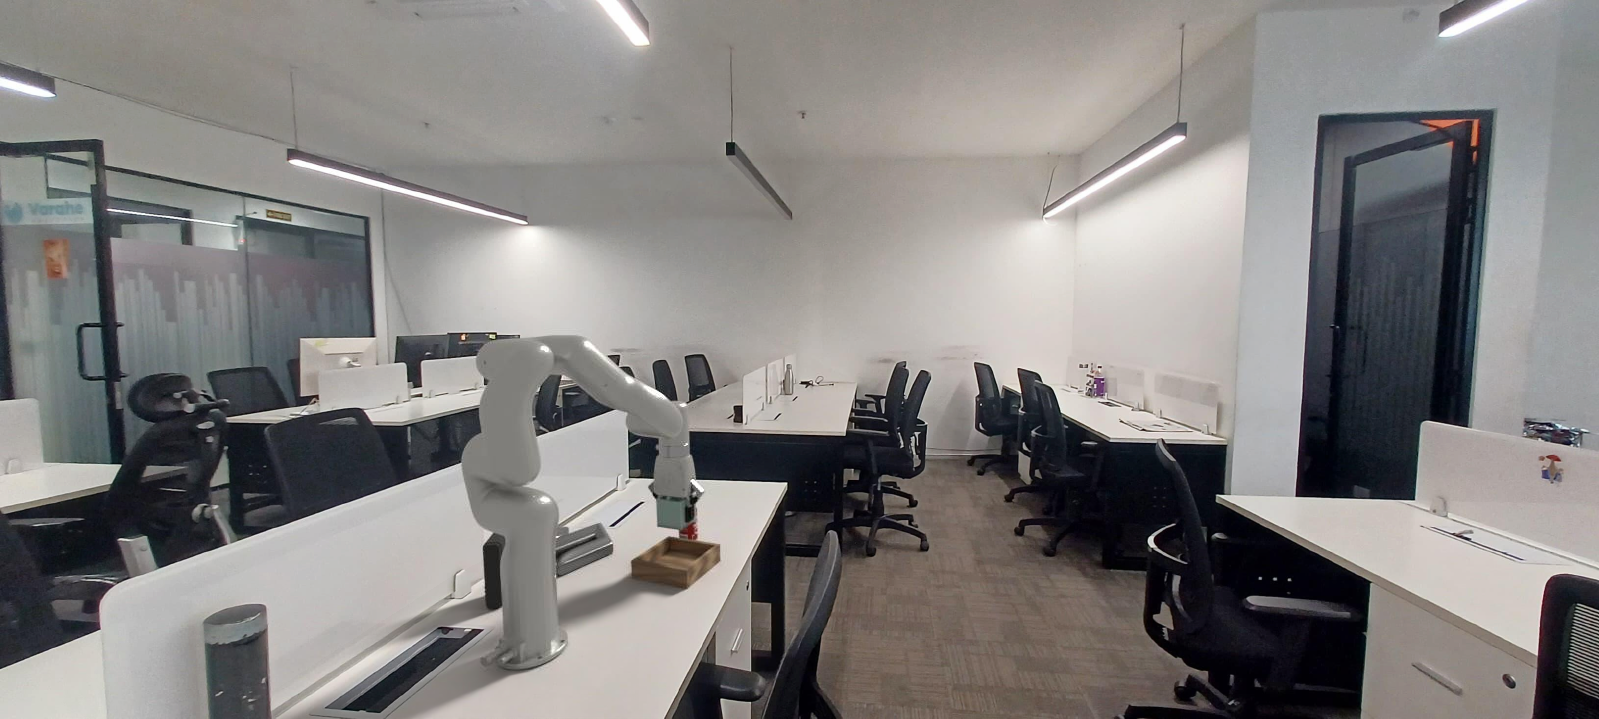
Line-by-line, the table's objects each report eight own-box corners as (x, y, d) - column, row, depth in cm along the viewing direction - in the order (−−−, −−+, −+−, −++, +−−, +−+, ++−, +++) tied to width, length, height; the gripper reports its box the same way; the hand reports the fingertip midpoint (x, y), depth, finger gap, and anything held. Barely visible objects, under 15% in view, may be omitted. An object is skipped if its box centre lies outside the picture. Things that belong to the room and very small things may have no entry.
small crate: (681, 530, 134) (680, 502, 133) (657, 526, 136) (656, 499, 136) (696, 520, 140) (695, 493, 140) (673, 516, 143) (672, 491, 142)
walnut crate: (687, 588, 129) (686, 570, 128) (631, 577, 134) (631, 560, 134) (720, 560, 143) (720, 544, 143) (669, 552, 149) (668, 536, 149)
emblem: (536, 518, 162) (629, 517, 162) (537, 535, 163) (629, 535, 162) (480, 559, 134) (591, 558, 134) (481, 580, 135) (592, 579, 134)
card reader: (495, 591, 128) (492, 529, 127) (514, 588, 129) (511, 527, 128) (483, 611, 119) (479, 544, 118) (503, 608, 120) (500, 542, 119)
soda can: (691, 541, 156) (690, 500, 156) (701, 546, 153) (700, 504, 152) (675, 546, 153) (674, 505, 152) (685, 552, 149) (684, 509, 148)
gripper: (636, 451, 136) (639, 520, 138) (696, 456, 130) (698, 528, 131) (654, 444, 143) (657, 510, 145) (712, 449, 137) (714, 517, 138)
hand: (676, 518), depth 138 cm, fingers closed on small crate, 7 cm apart
